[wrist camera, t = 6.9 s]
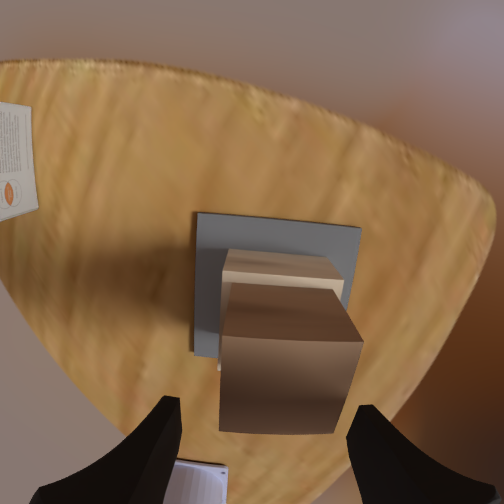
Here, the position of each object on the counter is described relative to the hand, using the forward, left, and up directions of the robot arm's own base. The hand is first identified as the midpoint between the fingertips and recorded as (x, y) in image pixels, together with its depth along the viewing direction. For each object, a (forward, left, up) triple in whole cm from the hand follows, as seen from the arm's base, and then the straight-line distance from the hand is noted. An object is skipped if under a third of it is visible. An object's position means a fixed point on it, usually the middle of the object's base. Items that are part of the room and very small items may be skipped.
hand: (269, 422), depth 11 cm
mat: (+1, -1, -10) cm, 10 cm away
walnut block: (+1, -1, -5) cm, 6 cm away
